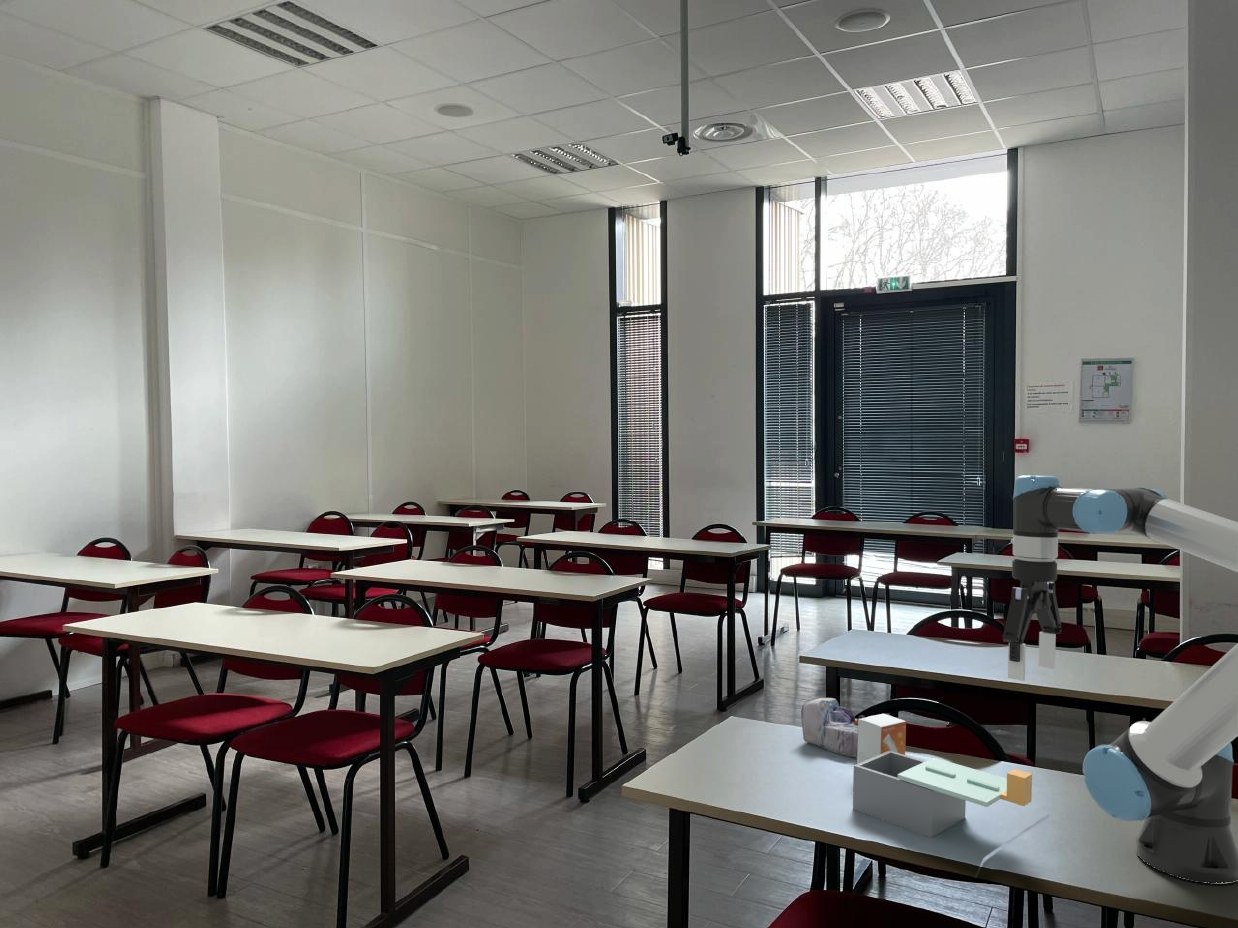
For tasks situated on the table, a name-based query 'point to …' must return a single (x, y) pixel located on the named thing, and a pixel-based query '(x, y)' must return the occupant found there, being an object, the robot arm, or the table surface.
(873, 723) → the small box
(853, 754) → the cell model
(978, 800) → the lid
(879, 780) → the tub
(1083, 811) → the table surface
